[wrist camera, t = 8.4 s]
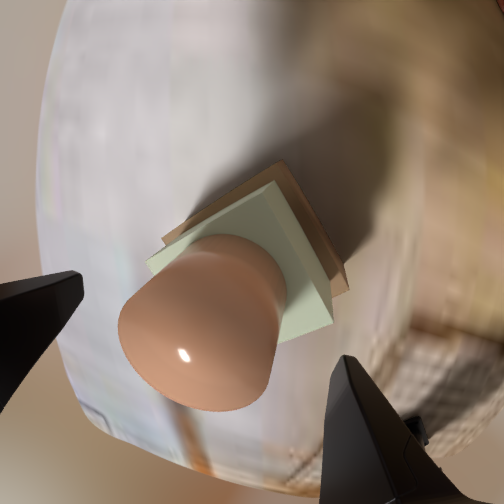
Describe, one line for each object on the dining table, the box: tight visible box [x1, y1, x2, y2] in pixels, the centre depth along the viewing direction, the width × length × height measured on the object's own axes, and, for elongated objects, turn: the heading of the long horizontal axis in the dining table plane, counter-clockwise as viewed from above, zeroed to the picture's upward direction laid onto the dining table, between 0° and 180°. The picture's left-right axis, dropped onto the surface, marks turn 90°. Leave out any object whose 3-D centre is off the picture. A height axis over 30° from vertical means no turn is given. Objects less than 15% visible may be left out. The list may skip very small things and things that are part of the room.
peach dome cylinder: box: [118, 234, 287, 412], centre depth 9 cm, size 4×4×4 cm
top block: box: [145, 180, 334, 344], centre depth 12 cm, size 6×6×4 cm
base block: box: [161, 159, 349, 298], centre depth 16 cm, size 7×7×4 cm
